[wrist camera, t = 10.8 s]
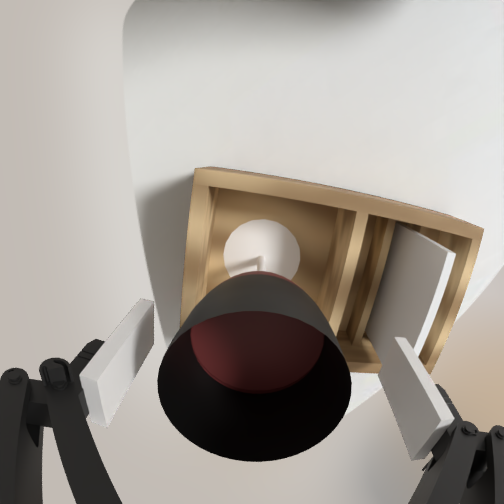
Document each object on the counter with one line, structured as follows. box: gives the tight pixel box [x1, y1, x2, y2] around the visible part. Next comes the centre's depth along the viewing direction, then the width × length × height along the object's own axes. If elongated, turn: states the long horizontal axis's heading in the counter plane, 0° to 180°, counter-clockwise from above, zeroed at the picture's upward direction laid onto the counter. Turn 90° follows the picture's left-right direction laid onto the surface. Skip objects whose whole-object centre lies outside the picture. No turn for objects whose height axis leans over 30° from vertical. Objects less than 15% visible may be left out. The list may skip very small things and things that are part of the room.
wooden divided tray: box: [180, 167, 484, 374], centre depth 28 cm, size 16×26×7 cm, turn 81°
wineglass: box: [157, 219, 352, 462], centre depth 21 cm, size 8×9×20 cm
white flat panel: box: [365, 222, 456, 365], centre depth 26 cm, size 12×1×11 cm, turn 171°
